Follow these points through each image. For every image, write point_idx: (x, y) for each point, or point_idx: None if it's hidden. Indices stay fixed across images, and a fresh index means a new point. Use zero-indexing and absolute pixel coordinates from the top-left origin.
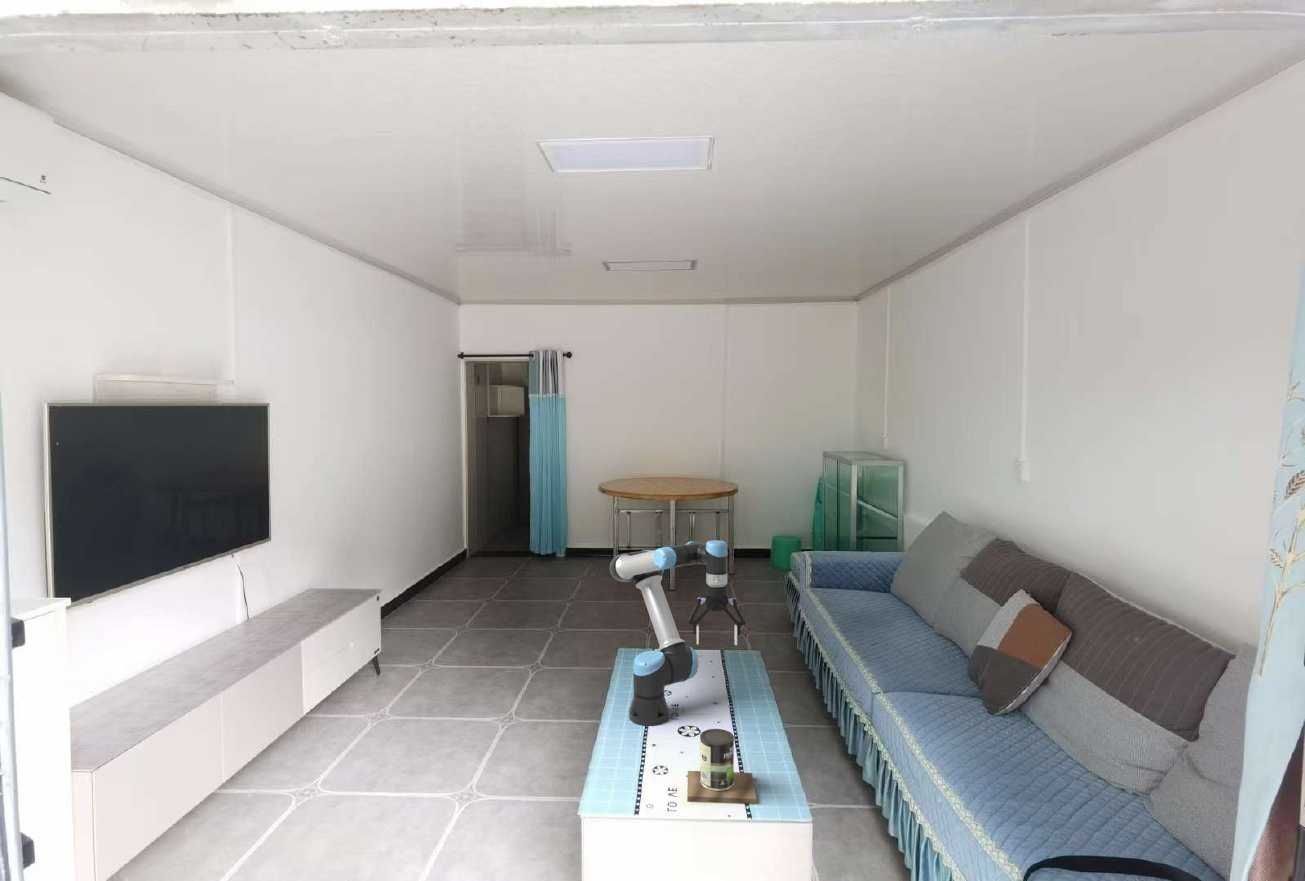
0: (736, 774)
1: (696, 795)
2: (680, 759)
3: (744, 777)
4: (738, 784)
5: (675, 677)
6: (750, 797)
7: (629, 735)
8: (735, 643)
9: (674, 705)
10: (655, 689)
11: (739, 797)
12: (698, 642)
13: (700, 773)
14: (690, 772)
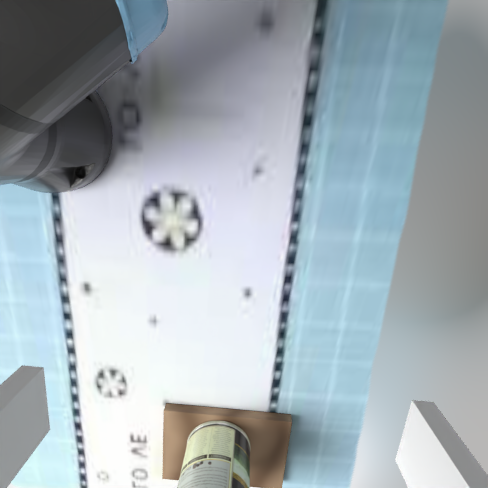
0: (259, 425)
1: (178, 477)
2: (151, 349)
3: (273, 434)
4: (257, 453)
5: (61, 116)
6: (272, 486)
7: (19, 241)
8: (408, 477)
9: None
10: (2, 181)
11: (252, 485)
12: (35, 447)
13: (188, 419)
14: (169, 416)
